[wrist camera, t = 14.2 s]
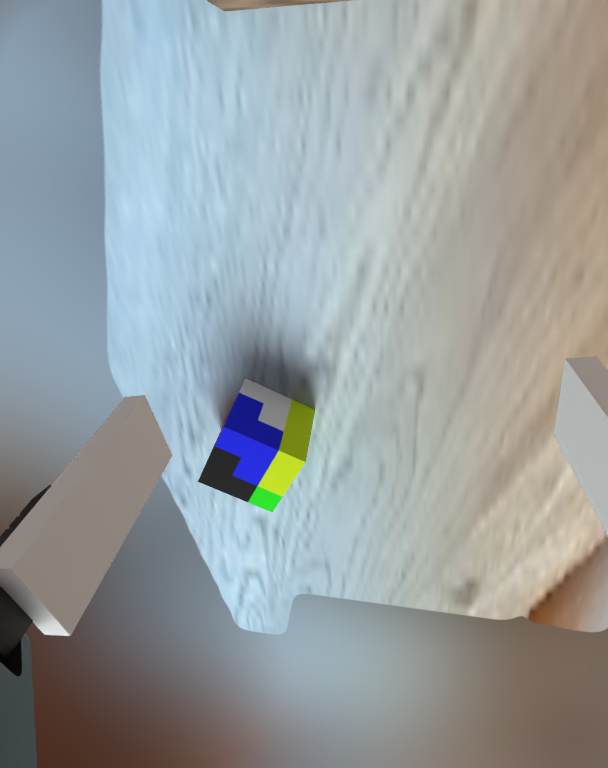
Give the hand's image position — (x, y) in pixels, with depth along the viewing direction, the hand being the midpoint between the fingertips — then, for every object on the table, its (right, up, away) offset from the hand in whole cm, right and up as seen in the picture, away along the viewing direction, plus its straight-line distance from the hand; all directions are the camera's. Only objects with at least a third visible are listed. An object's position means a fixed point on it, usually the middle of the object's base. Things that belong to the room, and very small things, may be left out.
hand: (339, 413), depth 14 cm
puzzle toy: (-6, -4, +46) cm, 46 cm away
